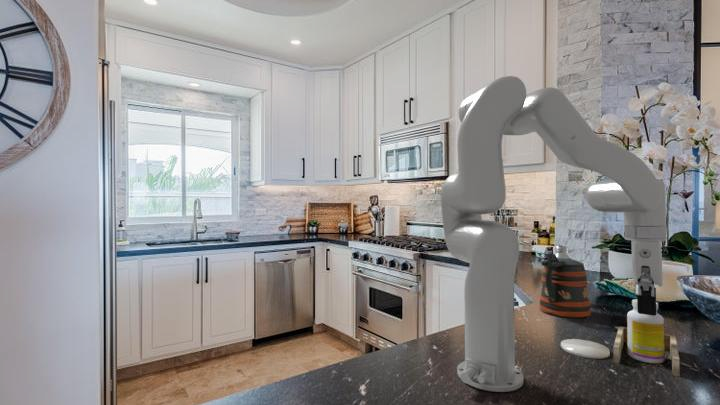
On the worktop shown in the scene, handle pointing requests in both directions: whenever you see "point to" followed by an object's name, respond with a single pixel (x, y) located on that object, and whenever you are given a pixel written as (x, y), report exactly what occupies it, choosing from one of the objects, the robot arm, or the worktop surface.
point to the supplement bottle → (645, 336)
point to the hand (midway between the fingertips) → (647, 308)
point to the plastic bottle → (561, 251)
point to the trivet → (585, 348)
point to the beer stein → (564, 288)
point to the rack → (668, 345)
